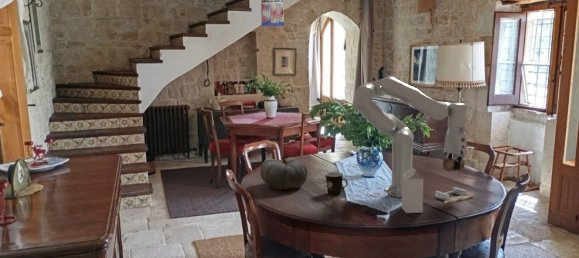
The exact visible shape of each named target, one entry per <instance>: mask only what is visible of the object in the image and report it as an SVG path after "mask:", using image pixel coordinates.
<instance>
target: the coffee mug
mask: <svg viewBox="0 0 579 258" xmlns="http://www.w3.org/2000/svg"><path fill="white" fill-rule="evenodd" d="M325 179H326V181H325V182H326V188H327V195H329V196H332V197H333V196H334V197H335V196H340V195H342V190H343V189H345V188H346V187H348V180H347V178H344V173H342V172H339V171H330V172H326V173H325ZM343 181H345V185H344V186H343Z"/></svg>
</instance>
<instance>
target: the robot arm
mask: <svg viewBox="0 0 579 258" xmlns="http://www.w3.org/2000/svg"><path fill="white" fill-rule="evenodd" d="M383 96H389V97H390V98H393V99H396V100H398V101H399V102H401V103H403V104H405V105H408V106H409V107H411V108H413V109H414V110H417V111H419V112H421V113H422V114H424V115H426V116H428V117H431V118H432V119H435V120H439V121H442V120H444V119H446V118H447V129H446V130H447V131H446V134H445V138H444V144H443V145H444V148H443V149H442V151H443V153H444V155H445V156H446V157H445V159H448V158H455V161H454V170H457V169H460V163H461V161H462V159H466V157H467V145H468V144H467V143H468V142H467V135H466V134H467V133H465V132H466V119H467V118H466V117H467V105H466V104H465V103H464V102H463V103H462V102H446V101H437V100H436V99H433V98H431V97H429V96H427V95H425V94H424V93H423V92H421V91H420V89H418V88H416V87H414V86H411V85H410V84H407V83H405V82H403V81H401V80H399V79H398V78H397V77H395V76H393V75H389V76H385V77H383V78H380V79H377V80H373V81H370V82H367V83H363V84H361V85H359V87H358V88H356V91H355V94H354V105H355V108H356V110H357V111H358V113H359V114H361V116H362V117H364V119H366V120H367V122H368V123H370V124H371V125H372V126H373V127H374V128H375V129H376V130H377V131H378V132H379V133H380V134H382V135H387V136H389V137H390V138H391V139H392V140H391V150H392V151H391V153H392V155H391V158H392V159H391V184H390V185H389V187H388V188H386V187H385V188H383V192H384V193H388V195H389V194H390V196H391V195H392V196H391V197H394V196H396V197H395V198H400V197H402V176H403V174H405V173H406V172H407V171H408V170H409V169H410V166H411V167H412V168H413V147H414V139H415V135H414V133H413V131H412V130H411V129H410V128H409V127H408V126H407V125H406V124H405V123H404V122H402V121H401V120H400V119H399V118H398V117H397V116H395V115H394V114H392V113H388V112H385V111H384V110H383V109H382V108H381V107H379V106H378V105H377V104H376V103H375V102H374V99H376V98H381V97H383ZM453 156H455V157H453ZM457 171H458V170H457Z"/></svg>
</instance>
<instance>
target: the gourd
mask: <svg viewBox="0 0 579 258" xmlns="http://www.w3.org/2000/svg"><path fill="white" fill-rule="evenodd" d="M281 159H282V160H280V161H279V160H277V159H275V158H268V159H265V160H264V161H263V162H262V163H261V165H260V177H261V179H262V180H263V182H264V183H265V184H266V185H267V186H269V187H271V188H274V189H278V190H281V191H282V190H289V189H292V190H293V189H298V188H300V187H302V186H303V185H304V184H305V182H306V180H307V178H308V169H307V167H306V165H305V163H303V162H302V161H300V160H299V159H298V158H295V157H288V158H285V156H284V155H281Z"/></svg>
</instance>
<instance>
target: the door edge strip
mask: <svg viewBox="0 0 579 258" xmlns="http://www.w3.org/2000/svg"><path fill="white" fill-rule="evenodd" d="M473 198H474V195H472V194H470V195H467V196H465V197H461V198H457V199H452V200H448V201H445V200H443V201H444V202H443V204H444V205H447V204H452V203H456V202H462V201H464V200H465V201H466V200H469V199H473Z"/></svg>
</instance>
